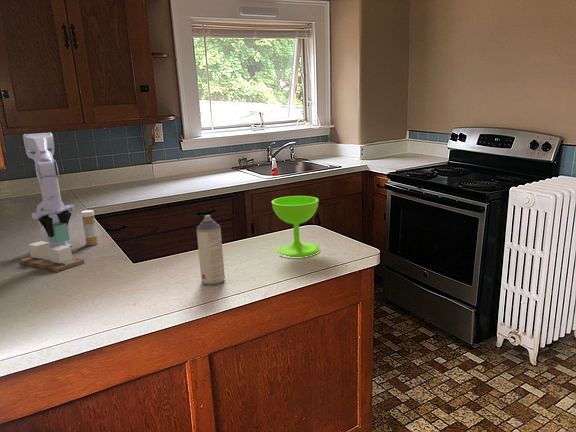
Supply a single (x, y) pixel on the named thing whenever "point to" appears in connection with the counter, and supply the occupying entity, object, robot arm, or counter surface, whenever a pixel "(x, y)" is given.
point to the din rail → (48, 258)
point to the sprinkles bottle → (89, 227)
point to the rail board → (50, 264)
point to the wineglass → (296, 222)
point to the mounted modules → (50, 251)
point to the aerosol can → (210, 252)
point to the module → (59, 233)
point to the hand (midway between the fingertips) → (57, 234)
